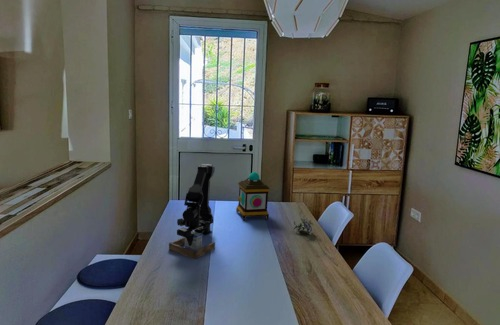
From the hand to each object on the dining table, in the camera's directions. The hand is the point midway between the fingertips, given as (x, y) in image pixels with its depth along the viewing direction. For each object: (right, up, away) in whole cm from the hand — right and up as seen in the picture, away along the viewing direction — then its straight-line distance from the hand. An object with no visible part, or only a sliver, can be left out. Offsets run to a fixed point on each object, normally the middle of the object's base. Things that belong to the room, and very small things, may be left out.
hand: (193, 244), depth 184 cm
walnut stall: (0, -2, 0) cm, 2 cm away
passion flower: (+60, -1, +30) cm, 67 cm away
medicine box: (0, -3, +1) cm, 3 cm away
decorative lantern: (+30, +6, +56) cm, 64 cm away
